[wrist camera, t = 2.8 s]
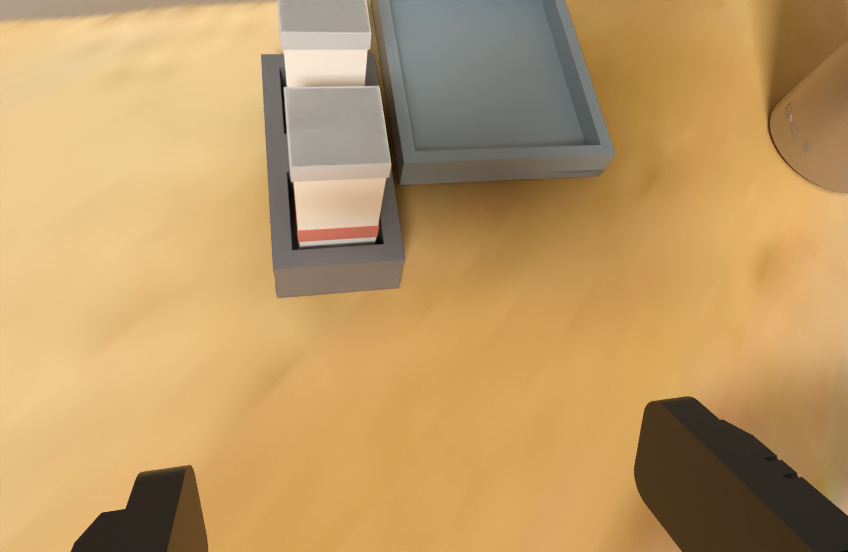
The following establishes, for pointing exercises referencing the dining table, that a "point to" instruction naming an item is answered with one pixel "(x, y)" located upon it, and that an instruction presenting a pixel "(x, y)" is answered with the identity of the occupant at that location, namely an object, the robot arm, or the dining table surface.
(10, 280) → the dining table surface
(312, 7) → the block
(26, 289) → the dining table surface
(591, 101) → the tray
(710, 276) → the dining table surface
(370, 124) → the block
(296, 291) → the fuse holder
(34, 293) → the dining table surface
